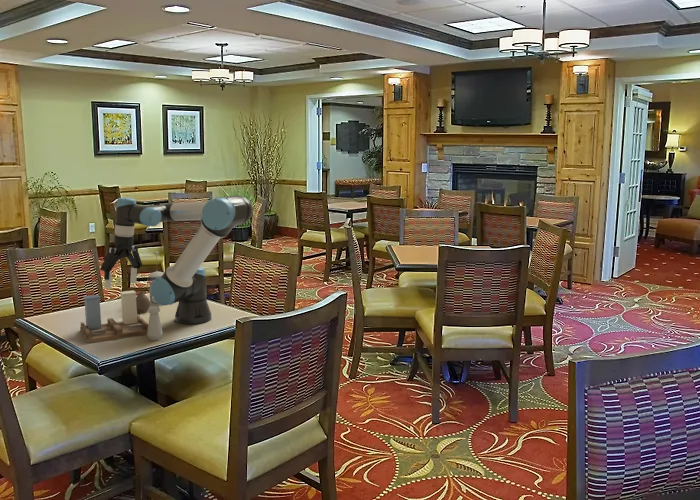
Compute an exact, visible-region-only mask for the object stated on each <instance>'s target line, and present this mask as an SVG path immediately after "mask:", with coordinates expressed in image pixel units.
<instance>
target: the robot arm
mask: <svg viewBox="0 0 700 500" xmlns="http://www.w3.org/2000/svg"><path fill="white" fill-rule="evenodd" d="M116 200H117V201H116V206H115V224H114V236H113V237H114V238H113V244H114V247H110V246H109V247H107V248H108V249H107V252H106V255H105V257H104V259H103V262H102V264H101V267H100V268H99V269H100V271H102V272H104V276H103V279H104V287H105V288H107V289H111V288H112V278H113V277H112V275H113V272H112V270H113V268H114V267H115V266H116V264H117V262H118V261H119V260H121V259H124V258H126V259H127V260H128V262H130V265H131V268H130V280H129V281H130V282H129V283H130V284H136V285H137V276H138V275H139V273H138V272H139V269H141V267H143V262H142V259H141V256H140V253H139V249H138V248H139V246H137V245H134V234H135V224H139V225H142V226H146V227H157V226H158V224H161V223H165V222H179V221H183V222H184V221H185V222H186V221H187V222H188V221H200V224H201V225H200V227H199V229H198V230H197V231H196V232H195V235H193V237H192V238H191V240H190V242H189V243H188V244H187V246H186V247H185V249H184V250H183V251H182V253H181V254H180V256H179V257H178V258H177V260H176V261H175V263H174V264H173V265H169V266H168V267H167V268H165V271H163V275H162V276H161V277H157V278H154V279H153V280H151V282H150V283H151V294H152V296H153V297H152V298H153V299H154V300H155V301H156V302H157V303H159V304H161V305H163V306H171V305H173V304H176V303H177V307H176V311H175V315H174V321H175V322H176V323H178V324H183V325H199V324H205V323H207V322H210V320H212V311H211V308H210V307H209V304H208V299H207V298H208V297H207V273H206V269H205V268H204V267H201V266H202V265H203V263H204V262H205V260H206V259H207V257H208V256H209V255H210V254H211V252H212V250H213V249H214V248H215V246H216V245H217V243H218V242H219V241H220V240H221V239H223V238H226V237H228V235H230V232H231V231H232V229H233V228H234V227H236V226H240V225H241V226H242V225H244V224H246V223H248V221H249V220H250V219H251V218H252V216H253V212H254V211H253V205H252V203H251V201H250V200H249V199H248V198H247V197H246V196H243V195H239V194H238V195H228V196H218V197H215V198H212V199H210V200H207V201H191V202H189V201H188V202H187V201H186V202H165V203H160V204H153V205H139V204H137V200H136V198H132V197H118V198H117V199H116Z"/></svg>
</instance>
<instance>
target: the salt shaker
mask: <svg viewBox="0 0 700 500" xmlns="http://www.w3.org/2000/svg"><path fill="white" fill-rule="evenodd" d="M160 311H161V309H160V306H150V307H149V308H148V311H147V312H148V313H149V317H148V324H149V325H148V331H147V334H146V335H147V337H148V339H149V340H150V341H152V342H154V341H159V340H161V339H162V337H163V335H164V334H163V332H164V331H163V328H162V323H161V319H160V315H159V313H160Z"/></svg>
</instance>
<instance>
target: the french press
mask: <svg viewBox="0 0 700 500" xmlns="http://www.w3.org/2000/svg"><path fill="white" fill-rule="evenodd" d="M153 254H154V255H155V256H156V258H155V259H156V260H155V261H156V262H155V263H156V264H158V258H157V257H158V256H157V255H158V254H159V251H157V250H156V251H154V253H153ZM163 273H164V271H158V270H156V271H153V272H150V274H148V278H147V280H146V283H148V281H153V280H154V279H156V278H157V277H161V276H162V275H163ZM151 283H152V282H149V286H148V284H146V287H147V290H148V292H149V301H150V306H158V307H163V306H164V305H161V304H159V303H157V302H156V301H155V300H154V298H153V296H152V294H151Z"/></svg>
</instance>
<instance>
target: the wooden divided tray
mask: <svg viewBox="0 0 700 500" xmlns="http://www.w3.org/2000/svg"><path fill="white" fill-rule="evenodd" d="M106 322H107V323H101V328H98V329H91V330H88V328H87V327H86V323H85V322H83V321H81V322H80V332H81V334H82V335H83V337H84V338H85V340H86V342H87V343H88V344H92V343H98V342H105V341H113V340H117V339H124V338H130V337H137V336H142V335H143V336H144V335H147V331H148V325H149V323H148V322H147V321H145V320H144V319H143V318H142V317H141V316H140V315H139V314H137V323H132V324H124V323H123V321H116V320H115V319H114V318H113V317H110V318H107V320H106Z"/></svg>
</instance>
